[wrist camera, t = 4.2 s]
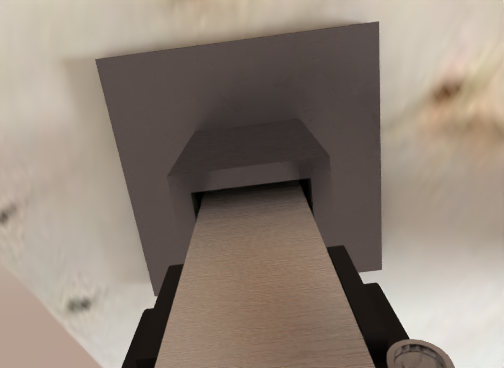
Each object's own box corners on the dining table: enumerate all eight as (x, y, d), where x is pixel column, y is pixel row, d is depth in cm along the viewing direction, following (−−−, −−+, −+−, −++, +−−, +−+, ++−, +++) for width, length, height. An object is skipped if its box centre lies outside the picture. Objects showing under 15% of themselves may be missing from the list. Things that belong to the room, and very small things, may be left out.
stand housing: (370, 23, 22) (462, 3, 13) (374, 258, 28) (442, 366, 18) (104, 58, 23) (4, 64, 13) (159, 283, 28) (116, 402, 19)
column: (287, 147, 21) (402, 412, 6) (293, 216, 22) (400, 579, 7) (212, 157, 21) (123, 442, 6) (223, 224, 22) (176, 600, 7)
